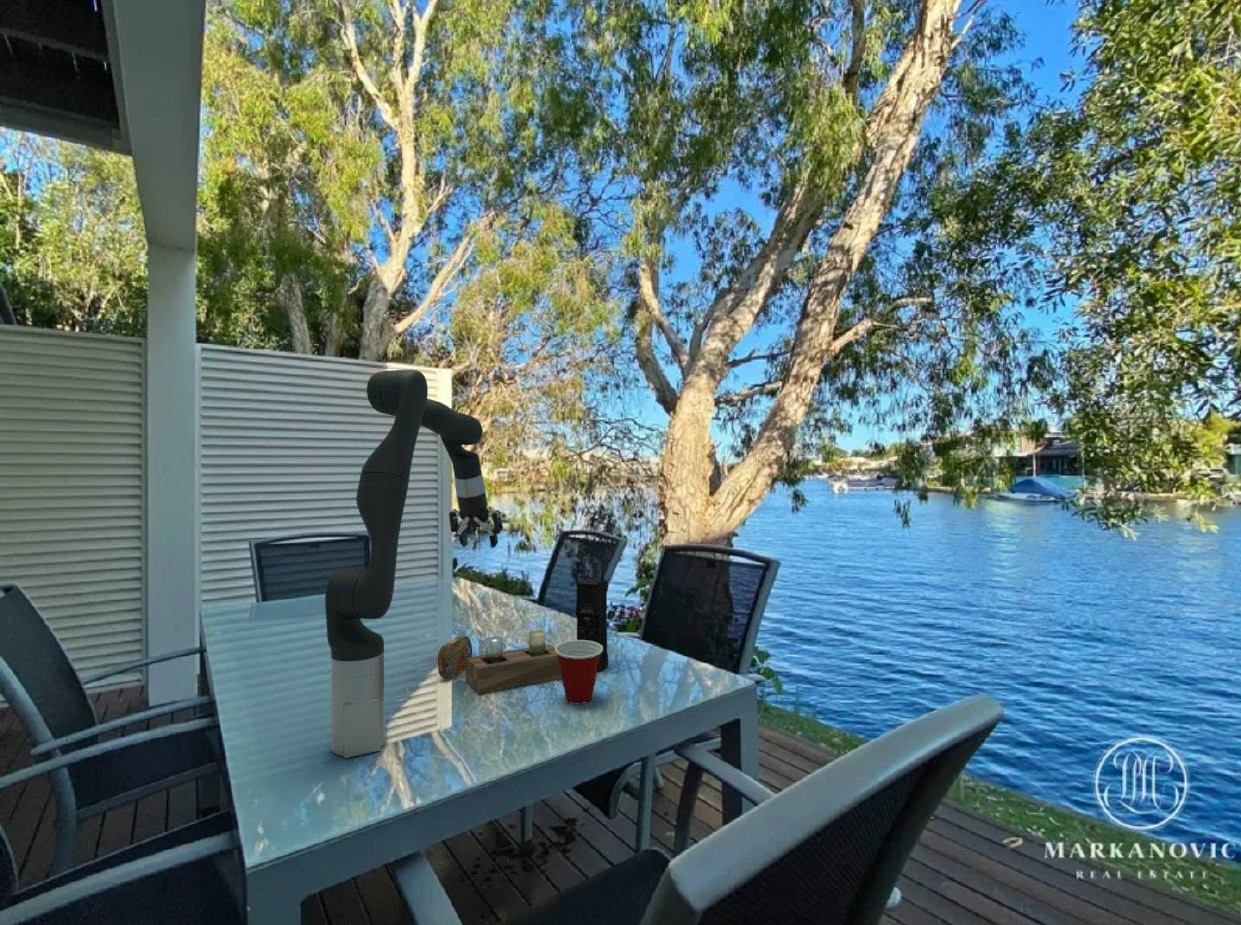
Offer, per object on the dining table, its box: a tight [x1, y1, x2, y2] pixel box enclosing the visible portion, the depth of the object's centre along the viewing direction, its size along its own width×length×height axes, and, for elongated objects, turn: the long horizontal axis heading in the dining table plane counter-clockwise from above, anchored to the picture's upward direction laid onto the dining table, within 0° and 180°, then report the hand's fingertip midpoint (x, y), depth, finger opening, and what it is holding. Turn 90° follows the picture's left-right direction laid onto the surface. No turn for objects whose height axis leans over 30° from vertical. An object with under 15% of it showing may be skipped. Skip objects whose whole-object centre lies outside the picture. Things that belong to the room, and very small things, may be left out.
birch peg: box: [528, 629, 546, 656], centre depth 160 cm, size 4×4×6 cm
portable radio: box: [575, 570, 609, 672], centre depth 167 cm, size 8×6×25 cm
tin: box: [436, 635, 473, 680], centre depth 164 cm, size 15×3×8 cm, turn 168°
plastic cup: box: [554, 639, 603, 703], centre depth 144 cm, size 11×11×12 cm
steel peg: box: [485, 636, 504, 664], centre depth 155 cm, size 4×4×6 cm
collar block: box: [465, 644, 562, 696], centre depth 157 cm, size 10×22×6 cm, turn 121°
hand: (479, 546), depth 176 cm, fingers open, 8 cm apart
